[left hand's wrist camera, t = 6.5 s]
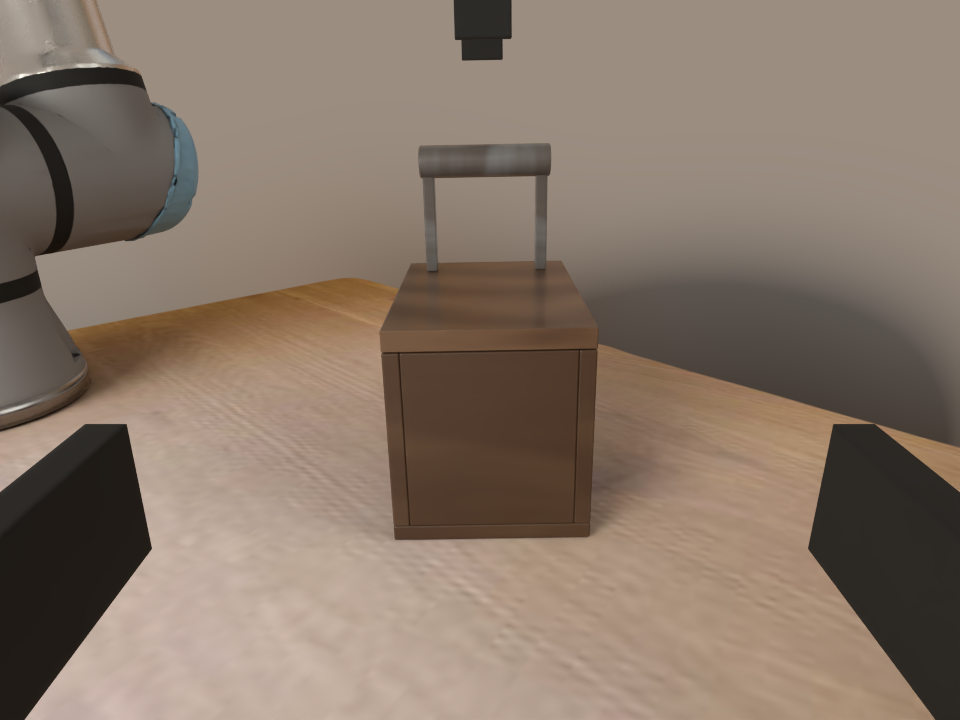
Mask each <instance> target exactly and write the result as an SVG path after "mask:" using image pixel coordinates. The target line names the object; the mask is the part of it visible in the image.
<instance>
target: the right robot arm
mask: <svg viewBox="0 0 960 720" xmlns="http://www.w3.org/2000/svg"><path fill="white" fill-rule="evenodd" d="M454 23H455V40H462V60H502V58H503V55H502V54H503V52H502V39H511V37H512V33H511V32H512V30H511V0H454ZM0 62H1V64H2V67H3V70H2V73H1V75H0V430H1V429H4V428H8V427H11V426H15V425H18V424H21V423H24V422H27V421H30V420H33V419H36V418H38V417H41V416H43V415H46V414H48V413H51V412H53V411H55V410H57V409H59V408H61V407H63V406H65V405H67V404H69V403H70V402H72V401H74V400H75V399H77V398H78V397H79V396H81V395H82V394H83V393H84V392H85V391H86V390H87V389H88V387H89V385H90V383H91V379H90V375H89V370H88V366H87V362H86V360H85V358H84V356H83V354H82V353H81V351H80V350H79V349H78V348H77V347H76V345H75V343H74V342H73V340H72V338H71V337H70V335H69V333H68V332H67V330H66V329H65V327H64V325H63V324H62V322H61V321H60V319H59V318H58V316H57V315H56V313H55V312H54V311H53V309H52V307H51V306H50V304H49V303H48V301H47V300H46V298H45V296H44V293H43V290H42V286H41V282H40V278H39V274H38V270H37V265H36V261H35V256H38V255H44V254H50V253H55V252H60V251H66V250H72V249H77V248H83V247H89V246H94V245H100V244H105V243H111V242H117V241H122V240H125V241H135V240H137V239H140V238H144V237H145V236H147V235H151V234H155V233H159V232H163V231H166V230H169V229H171V228H173V227H174V226H176V225H177V224H178V223H180V222H181V221H182V220H183V218H184V217H185V216H186V215H187V213H188V212H189V210H190V207H191V205H192V198H193V197H194V196H195V195H196V190H197V184H198V160H197V153H196V149H195V145H194V142H193V139H192V136H191V134H190V132H189V130H188V128H187V126H186V125H185V123H184V122H183V121H182V119H181V118H178V117H176V114H175V113H174V112H173V111H172V110H171V109H169V108H167V107H164V106H162V105H159V104H157V103H151V102H150V99H149V96H148V94H147V91H146V88H145V85H144V82H143V79H142V76H141V73H140V72H139V71H138V70H136V69H135V68H133V67H132V66H130V65H129V64H127V63H125V62H124V61H122V60H121V59H119V58H118V57H117V56H116V55H115V53H114V50H113V47H112V44H111V41H110V38H109V36H108V33H107V30H106V27H105V24H104V21H103V18H102V15H101V12H100V9H99V6H98V3H97V0H0Z"/></svg>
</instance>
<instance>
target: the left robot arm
mask: <svg viewBox="0 0 960 720" xmlns="http://www.w3.org/2000/svg"><path fill="white" fill-rule="evenodd" d="M151 549H152V547H151V542H150V537H149V532H148V527H147V522H146V517H145V512H144V507H143V503H142V498H141V493H140V488H139V483H138V478H137V473H136V468H135V463H134V458H133V453H132V449H131V444H130V439H129V434H128V429H127V424H85V425H84V426H82V427H81V428H80V429H79V430H77V431H76V432H75V433H74V434H72V435H71V436H70V437H69V438H67V439H66V440H65V441H64V442H62V443H61V444H60V445H59V446H57V447H56V448H55V449H54V450H52V451H51V452H50V453H49V454H47V455H46V456H45V457H44V458H42V459H41V460H40V461H39V462H37V463H36V464H35V465H34V466H32V467H31V468H30V469H29V470H27V471H26V472H25V473H24V474H22V475H21V476H20V477H19V478H17V479H16V480H15V481H14V482H12V483H11V484H10V485H9V486H7V487H6V488H5V489H4V490H2V491H1V492H0V720H25V718H26V717H27V716H28V714H29V713H30V712H31V710H32V709H33V708H34V706H35V705H36V704H37V702H38V701H39V700H40V698H41V697H42V696H43V694H44V693H45V692H46V690H47V689H48V687H49V686H50V685H51V683H52V682H53V681H54V679H55V678H56V677H57V675H58V674H59V673H60V671H61V670H62V669H63V667H64V666H65V665H66V663H67V662H68V661H69V659H70V658H71V657H72V655H73V654H74V653H75V651H76V650H77V649H78V647H79V646H80V645H81V643H82V642H83V641H84V639H85V638H86V636H87V635H88V634H89V632H90V631H91V630H92V628H93V627H94V626H95V624H96V623H97V622H98V620H99V619H100V618H101V616H102V615H103V614H104V612H105V611H106V610H107V608H108V607H109V606H110V604H111V603H112V602H113V600H114V599H115V598H116V596H117V595H118V594H119V592H120V591H121V590H122V588H123V587H124V585H125V584H126V583H127V581H128V580H129V579H130V577H131V576H132V575H133V573H134V572H135V571H136V569H137V568H138V567H139V565H140V564H141V563H142V561H143V560H144V559H145V557H146V556H147V555H148V553H149V552H150V551H151ZM808 549H809V551H810V552H811V553H812V555H813V556H814V557H815V559H816V560H817V561H818V563H819V564H820V565H821V567H822V568H823V569H824V571H825V572H826V573H827V575H828V576H829V577H830V579H831V580H832V581H833V583H834V584H835V585H836V587H837V588H838V590H839V591H840V592H841V594H842V595H843V596H844V598H845V599H846V600H847V602H848V603H849V604H850V606H851V607H852V608H853V610H854V611H855V612H856V614H857V615H858V616H859V618H860V619H861V620H862V622H863V623H864V624H865V626H866V627H867V628H868V630H869V631H870V632H871V634H872V635H873V636H874V638H875V639H876V641H877V642H878V643H879V645H880V646H881V647H882V649H883V650H884V651H885V653H886V654H887V655H888V657H889V658H890V659H891V661H892V662H893V663H894V665H895V666H896V667H897V669H898V670H899V671H900V673H901V674H902V675H903V677H904V678H905V679H906V681H907V682H908V683H909V685H910V686H911V687H912V689H913V690H914V692H915V693H916V694H917V696H918V697H919V698H920V700H921V701H922V702H923V704H924V705H925V706H926V708H927V709H928V710H929V712H930V713H931V714H932V716H933V717H934V718H935V720H960V492H959V491H958V490H956V489H955V488H954V487H953V486H951V485H950V484H949V483H948V482H946V481H945V480H944V479H943V478H941V477H940V476H939V475H938V474H936V473H935V472H934V471H933V470H931V469H930V468H929V467H928V466H926V465H925V464H924V463H923V462H921V461H920V460H919V459H918V458H916V457H915V456H914V455H913V454H911V453H910V452H909V451H908V450H906V449H905V448H904V447H903V446H901V445H900V444H899V443H898V442H896V441H895V440H894V439H893V438H891V437H890V436H889V435H888V434H886V433H885V432H884V431H883V430H881V429H880V428H879V427H878V426H876V425H875V424H833V429H832V434H831V439H830V444H829V449H828V453H827V458H826V463H825V468H824V473H823V478H822V483H821V488H820V493H819V498H818V503H817V507H816V512H815V517H814V522H813V527H812V532H811V537H810V542H809V547H808Z"/></svg>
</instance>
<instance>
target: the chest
mask: <svg viewBox="0 0 960 720" xmlns="http://www.w3.org/2000/svg"><path fill="white" fill-rule="evenodd" d="M381 357H382V371H383V384H384V398H385V412H386V425H387V439H388V452H389V466H390V480H391V493H392V507H393V520H394V534H395V539H396V540H407V539H469V538H531V537H588V536H589V535H590V512H591V489H592V466H593V443H594V420H595V397H596V373H597V349H548V350H493V351H437V352H382V355H381Z"/></svg>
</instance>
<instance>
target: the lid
mask: <svg viewBox="0 0 960 720" xmlns="http://www.w3.org/2000/svg"><path fill="white" fill-rule="evenodd" d="M418 159H419V173H420V177H421V178H423V195H424V217H425V238H426V260H427V263H416V264H411V265H410V267H409V269H408V271H407V274H406V276H405V278H404V280H403V282H402V284H401V287H400V289H399V291H398V293H397V295H396V297H395V299H394V302H393V304H392V306H391V308H390V310H389V312H388V315H387V317H386V319H385V321H384V323H383V325H382V328H381V330H380V346H381V352H437V351H493V350H548V349H597V348H598V330H599V328H598V326H597V324H596V322H595V321H594V319H593V317H592V315H591V313H590V312H589V310H588V308H587V306H586V304H585V303H584V301H583V299H582V297H581V295H580V294H579V292H578V290H577V288H576V286H575V285H574V283H573V281H572V279H571V277H570V276H569V274H568V272H567V270H566V268H565V267H564V265H563V263H562V261H546V234H547V233H546V232H547V176H549V175H550V171H551V147H550V144H549V143H535V144H485V145H434V146H419V152H418ZM511 176H535V256H534V261H521V262H469V263H438V246H437V222H436V197H435V178H461V177H511Z"/></svg>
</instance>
